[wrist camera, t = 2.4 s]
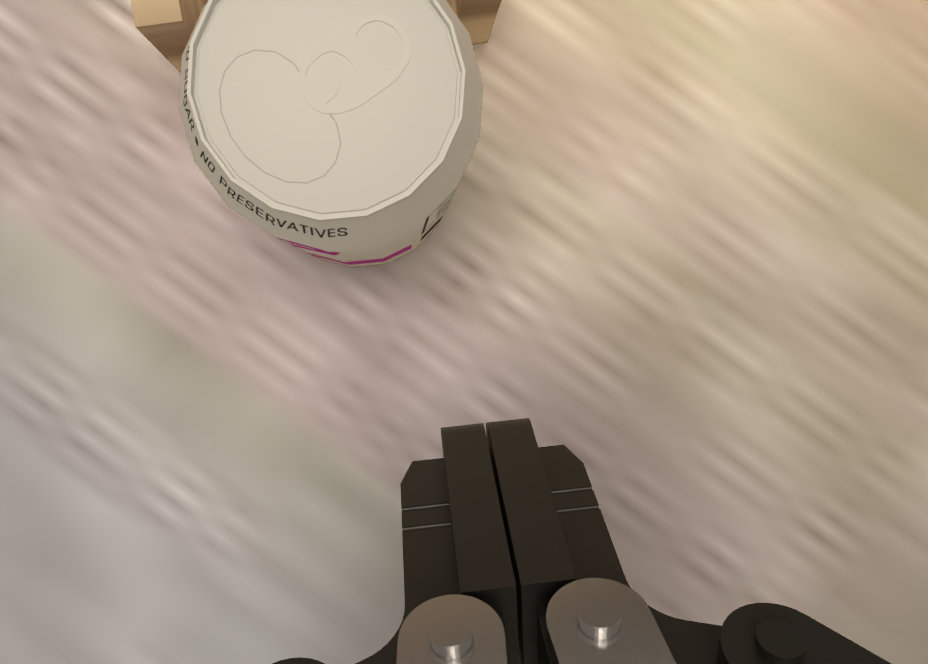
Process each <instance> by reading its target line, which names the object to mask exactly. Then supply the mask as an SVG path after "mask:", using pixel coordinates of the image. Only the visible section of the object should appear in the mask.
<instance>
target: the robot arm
mask: <svg viewBox="0 0 928 664" xmlns="http://www.w3.org/2000/svg"><path fill="white" fill-rule="evenodd" d="M441 437H442V448H443V458H440V459H431V460H422V461H413V462H412V463H411V465H410V467H409V469H408V471H407V473H406V475H405V477H404V478H403V480H402V482H401V506H402V529H403V532H402V534H403V561H404V589H405V613H404V617H403V621H402V623H401V625H400V627H399V629H398V631H397V632H396V634H395V636H394V637H393V638H392V639H391V640H390V641H389V643H388V644H387V645H385V646H384V647H383V648H382V649H381V650H380V651H378V652H377V653H375V654H374V655H372V656H370V657H368V658H367V659H365V660H363V661H360V662H358V663H356V664H891V663H889V662H887V661H886V660H884V659H882V658H880V657H879V656H877V655H875V654H873V653H872V652H870V651H868V650H866V649H865V648H863V647H861V646H859V645H858V644H856V643H854V642H852V641H851V640H849V639H847V638H845V637H844V636H842V635H840V634H838V633H837V632H835V631H833V630H831V629H830V628H828V627H826V626H824V625H823V624H821V623H819V622H817V621H816V620H814V619H812V618H810V617H809V616H807V615H805V614H803V613H801V612H799V611H797V610H795V609H792V608H789V607H786V606H783V605H778V604H772V603H754V604H748V605H745V606H743V607H740V608H738V609H736V610H735V611H733V612H732V613H731V614H730V615H729V616H728V617H727V618H726V620H725V621H724V623H723V625H722V626H718V625H712V624H705V623H699V622H693V621H686V620H682V619H677V618H674V617H671V616H668V615H665V614H663V613H661V612H659V611H656V610H655V609H653V608H651V607H650V606H648V605H647V603H646V602H645V601H644V600H643V598H642V597H641V596H640V595H639V594H638V593H636V592H635V591H634V590H633V589H631V588H630V586H629V585H628V583H627V580H626V578H625V576H624V573H623V570H622V568H621V565H620V562H619V559H618V557H617V554H616V551H615V548H614V546H613V543H612V540H611V538H610V535H609V532H608V529H607V527H606V524H605V521H604V518H603V516H602V513H601V510H600V509H599V507H598V502H597V499H596V497H595V494H594V491H593V490H592V486H591V483H590V480H589V478H588V475H587V472H586V469H585V467H584V464H583V462H581V461H580V460H579V459H578V458H577V457H576V456H575V455H574V454H573V453H572V452H571V451H570V450H569V449H568V448H567V447H566V446H564V445H557V446H548V447H538V446H537V442H536V439H535V435H534V432H533V429H532V425H531V422H530V420H529V418H526V419H517V420H508V421H498V422H489V423H486V434H485V429H484V425H483V423H481V424H472V425H463V426H454V427H444V428H441ZM273 664H324V663H322V662H320V661H318V660H314V659H310V658H290V659H285V660H281V661H278V662H275V663H273Z"/></svg>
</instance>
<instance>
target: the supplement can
mask: <svg viewBox="0 0 928 664" xmlns="http://www.w3.org/2000/svg"><path fill="white" fill-rule="evenodd" d="M482 96H483V82H482V78H481V74H480V71H479V67H478V64H477V60H476V56H475V53H474V49H473V45H472V42H471V38H470V35H469V33H468V31H467V30H466V28H465V27H464V25H463V24H462V23H461V21H460V20H459V18H458V17H457V15H456V14H455V12H454V11H453V10H452V8H451V7H450V5H449V4H448V2H447V1H446V0H209V1H208V3H207V4H206V5H205V6H204V7H203V9H202V11H201V14H200V16H199V18H198V20H197V23H196V25H195V27H194V30H193V32H192V34H191V36H190V39H189V41H188V43H187V45H186V48H185V50H184V52H183V54H182V64H181V81H180V98H179V112H180V115H181V118H182V122H183V125H184V128H185V131H186V135H187V138H188V141H189V145H190V148H191V151H192V155H193V158H194V161H195V163H196V164H197V165H198V167H199V168H200V170H201V171H202V172H203V174H204V175H205V176H206V178H207V179H208V180H209V182H210V183H211V184H212V186H213V187H214V188H215V190H216V191H217V192H218V194H219V195H220V196H221V198H222V199H223V201H224V202H225V203H226V205H227V206H229V207H230V208H232V209H233V210H235V211H236V212H238V213H239V214H241V215H242V216H244V217H245V218H247V219H248V220H250V221H251V222H253V223H254V224H256V225H257V226H259V227H260V228H262V229H263V230H265V231H266V232H268V233H269V234H270V235H272V236H274V237H276V238H278V239H280V240H282V241H284V242H286V243H289V244H291V245H293V246H295V247H297V248H299V249H301V250H303V251H305V252H307V253H309V254H311V255H313V256H315V257H317V258H319V259H322V260H326V261H330V262H334V263H338V264H342V265H346V266H350V267H360V266H371V265H381V264H386V263H389V262H391V261H393V260H395V259H397V258H399V257H401V256H403V255H405V254H407V253H409V252H411V251H414V250H415V249H416V248H417V247H418V246H419V245H420V244H421V243H422V242H423V241H424V240H425V239H426V238H427V237H428V236H429V235H430V234H431V233H432V232H433V230H434V229H435V228H436V227H437V226H438V224H439V222H440V220H441V218H442V216H443V214H444V212H445V210H446V208H447V206H448V204H449V202H450V200H451V198H452V196H453V194H454V192H455V190H456V188H457V186H458V184H459V182H460V180H461V177H462V175H463V173H464V171H465V168H466V166H467V164H468V162H469V159H470V157H471V155H472V153H473V151H474V148H475V146H476V144H477V142H478V139H479V137H480V124H481V110H482Z"/></svg>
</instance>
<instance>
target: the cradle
mask: <svg viewBox="0 0 928 664" xmlns="http://www.w3.org/2000/svg"><path fill="white" fill-rule="evenodd" d="M208 1H209V0H131V4H132V10H133V15H134V21H135V26H136V28H137V29H138V30H139V31H140V32H141V33H142V34H143V35H144V36H145V37H146V38H147V39H148V40H149V41H150V42H151V43H152V44H153V45H154V46H155V47H156V48H157V49H158V50H159V51H160V52H161V53H162V54H163V55H164V56H165V57H166V58H167V59H168V61H169V62H170V63H171V64H172V65H173V66H174V67H175V68H176V69H177V70H178V71H179V72H180V73H181V64H182V54H183V52H184V50H185V48H186V45H187V43H188V41H189V39H190V36H191V34H192V32H193V30H194V27H195V25H196V23H197V20H198V18H199V16H200V14H201V11H202V9H203V7H204V6H205V5H206V4H207V3H208ZM446 1H447V2H448V4H449V5H450V7H451V8H452V10H453V11H454V12H455V14H456V15H457V17H458V18H459V20H460V21H461V23H462V24H463V25H464V27H465V28H466V30H467V31H468V33H469V35H470V38H471V42H472V44H477V43H484V42H487V41H488V38H489V35H490V32H491V29H492V26H493V23H494V20H495V17H496V14H497V11H498V8H499V5H500V2H501V0H446Z"/></svg>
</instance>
